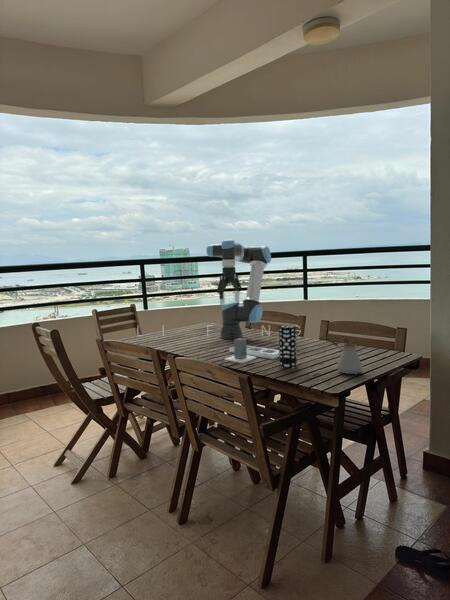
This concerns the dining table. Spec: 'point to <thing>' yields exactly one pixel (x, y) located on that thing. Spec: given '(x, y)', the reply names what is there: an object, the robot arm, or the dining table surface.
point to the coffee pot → (348, 359)
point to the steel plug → (240, 348)
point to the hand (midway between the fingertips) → (229, 303)
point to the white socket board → (259, 352)
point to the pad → (240, 359)
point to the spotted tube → (287, 346)
